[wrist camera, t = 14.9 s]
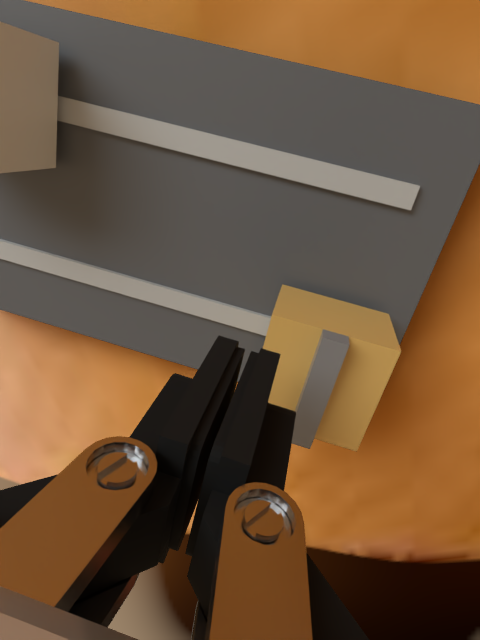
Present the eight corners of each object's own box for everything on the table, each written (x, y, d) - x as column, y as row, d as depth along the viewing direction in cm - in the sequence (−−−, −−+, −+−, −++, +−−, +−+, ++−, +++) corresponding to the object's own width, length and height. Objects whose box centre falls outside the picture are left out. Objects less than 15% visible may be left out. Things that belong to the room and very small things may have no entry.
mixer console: (481, 113, 14) (505, 109, 12) (363, 394, 19) (366, 423, 17) (-40, -7, 16) (-92, -27, 14) (-24, 279, 21) (-61, 293, 19)
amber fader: (388, 313, 15) (404, 361, 12) (352, 401, 17) (357, 463, 14) (282, 284, 16) (269, 322, 12) (257, 373, 17) (240, 426, 14)
